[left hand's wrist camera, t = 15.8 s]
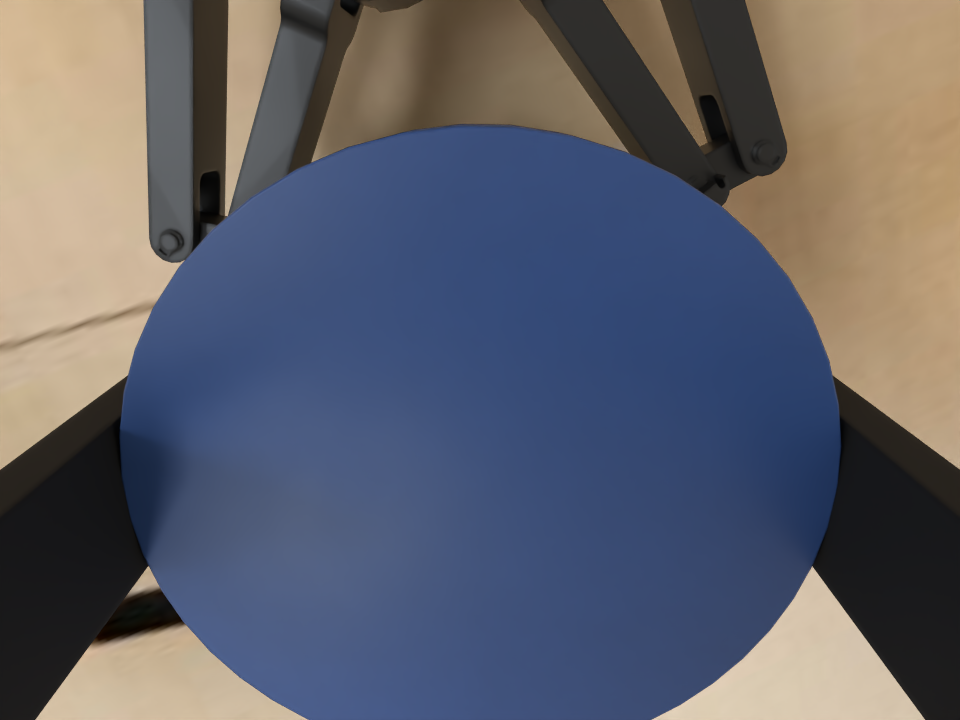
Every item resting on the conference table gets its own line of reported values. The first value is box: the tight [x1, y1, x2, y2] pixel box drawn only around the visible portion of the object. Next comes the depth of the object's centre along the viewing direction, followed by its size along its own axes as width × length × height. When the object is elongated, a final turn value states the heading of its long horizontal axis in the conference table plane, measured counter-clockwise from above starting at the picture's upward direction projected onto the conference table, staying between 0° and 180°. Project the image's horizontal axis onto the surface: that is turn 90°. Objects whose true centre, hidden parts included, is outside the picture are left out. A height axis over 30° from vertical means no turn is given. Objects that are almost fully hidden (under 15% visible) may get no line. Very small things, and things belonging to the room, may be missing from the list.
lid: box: [119, 124, 841, 720], centre depth 11 cm, size 11×11×2 cm
